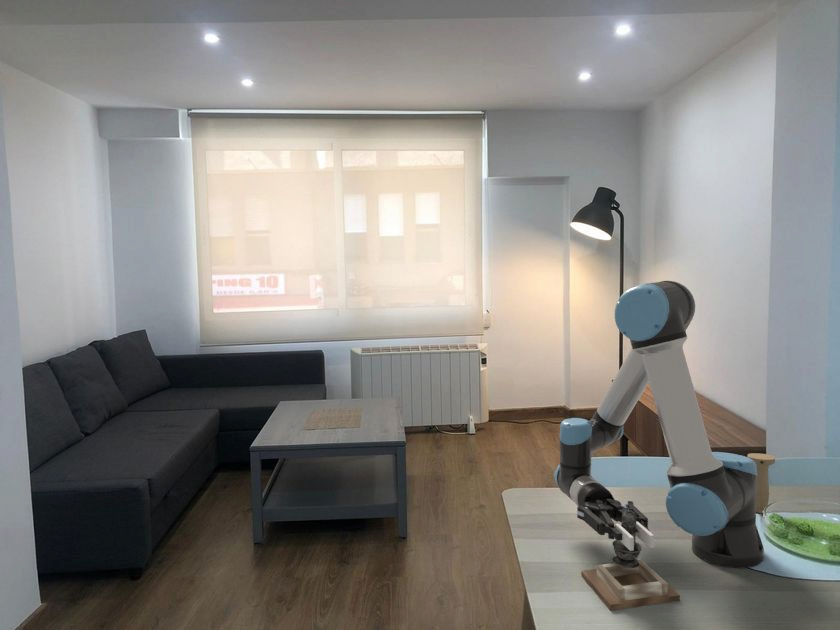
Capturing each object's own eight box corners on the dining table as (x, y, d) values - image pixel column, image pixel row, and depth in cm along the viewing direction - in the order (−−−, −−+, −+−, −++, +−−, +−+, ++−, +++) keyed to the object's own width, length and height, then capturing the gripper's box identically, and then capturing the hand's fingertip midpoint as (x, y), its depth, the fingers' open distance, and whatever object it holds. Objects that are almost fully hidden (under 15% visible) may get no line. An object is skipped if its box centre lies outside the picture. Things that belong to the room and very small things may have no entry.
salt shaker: (617, 552, 143) (622, 499, 142) (644, 561, 139) (649, 506, 138) (606, 562, 139) (610, 507, 137) (634, 572, 135) (638, 515, 133)
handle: (774, 516, 172) (776, 460, 170) (746, 513, 174) (748, 458, 172) (772, 509, 176) (774, 454, 174) (745, 506, 179) (746, 452, 177)
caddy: (645, 567, 148) (645, 552, 148) (679, 600, 135) (680, 584, 134) (581, 576, 146) (581, 560, 145) (610, 610, 132) (610, 593, 132)
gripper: (624, 509, 157) (680, 556, 135) (558, 516, 155) (602, 565, 132) (625, 478, 157) (680, 520, 134) (558, 485, 154) (602, 529, 131)
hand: (641, 542), depth 133 cm, fingers closed on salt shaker, 4 cm apart
